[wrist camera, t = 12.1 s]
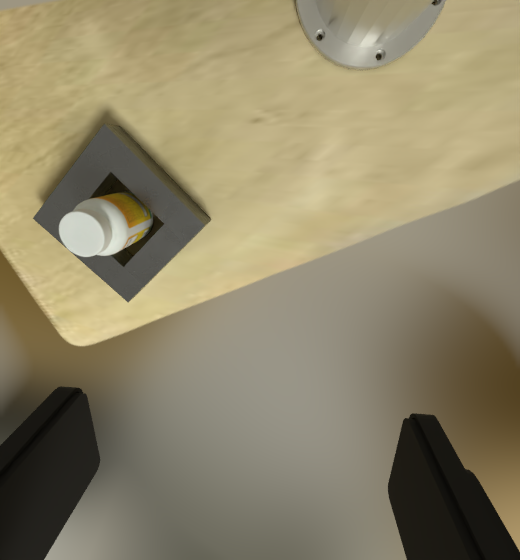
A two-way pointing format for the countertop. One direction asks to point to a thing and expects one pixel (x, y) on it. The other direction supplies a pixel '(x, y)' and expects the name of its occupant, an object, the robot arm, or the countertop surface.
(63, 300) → the countertop surface
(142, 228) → the supplement bottle
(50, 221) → the square hole block
